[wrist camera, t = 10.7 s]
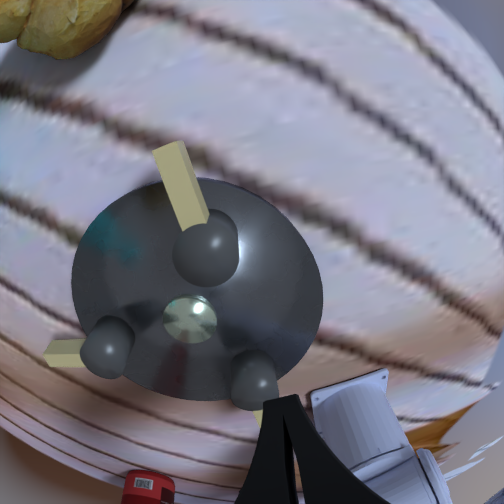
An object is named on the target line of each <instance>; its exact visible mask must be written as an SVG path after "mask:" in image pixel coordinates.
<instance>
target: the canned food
mask: <svg viewBox="0 0 504 504" xmlns="http://www.w3.org/2000/svg"><path fill="white" fill-rule="evenodd" d="M174 494H175V485H174V482H173V480H172V479H170V478H169V477H167V476H165V475H162V474H159V473H156V472H152V471H146V470H132V471H130V472H129V473H128V474H127V476H126V480H125V485H124V490H123V496H122V501H121V504H174Z"/></svg>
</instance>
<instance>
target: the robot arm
mask: <svg viewBox="0 0 504 504" xmlns="http://www.w3.org/2000/svg"><path fill="white" fill-rule="evenodd" d="M388 373H389V372H388V370H387V369H386V368H384V369H381V370H378V371H376V372H373V373H370V374H367V375H364V376H361V377H358V378H355V379H352V380H349V381H346V382H343V383H340V384H336V385H333V386H330V387H326V388H323V389H319V390H315V391H313V392H311V394H310V397H311V403H312V409H313V416H314V422H315V427H314V426H313V424H312V423H311V421H310V419H309V417H308V416H307V414H306V412H305V410H304V408H303V406H302V404H301V401H300V398H299V395H297V394H293V395H289V396H285V397H280V398H276V399H271V400H266V401H264V402H263V413H262V422H261V428H260V433H259V438H258V442H257V446H256V450H255V453H254V457H253V460H252V463H251V466H250V469H249V472H248V475H247V477H246V480H245V482H244V484H243V487H242V489H241V491H240V493H239V495H238V497H237V499H236V501H235V503H234V504H299V502H298V497H297V490H296V481H295V469H294V458H293V448H294V451H295V455H296V458H297V462H298V466H299V472H300V477H301V482H302V488H303V493H304V499H305V504H453V503H452V501H451V498H450V496H449V495H450V492H449V489H448V486H447V484H446V482H445V479H444V477H443V475H442V473H441V471H440V469H439V467H438V465H437V463H436V461H435V459H434V457H433V455H432V453H431V452H430V450H427V449H423V448H420V449H419V450H417V451H416V452H417V454H418V456H419V458H420V462H421V464H422V466H421V464H420V462H419V460H418V458H417V456H416V454H415V452H414V450H413V448H412V446H411V445H410V444H409V442H408V440H407V438H406V436H405V434H404V432H403V430H402V428H401V426H400V424H399V422H398V420H397V418H396V416H395V414H394V412H393V410H392V408H391V406H390V404H389V402H388V400H387V398H386V396H385V394H386V387H387V380H388ZM315 428H316V429H315ZM322 438H324V439H325V442H326V443H325V442H324V440H323V439H322ZM292 445H293V448H292ZM422 467H423V468H422ZM423 469H424V470H423ZM432 489H433V490H432ZM433 491H434V492H433ZM434 493H435V494H434ZM484 504H504V488H503V489H502V490H500V491H499V492H498V493H496V494H495V495H494V496H492V497H491V498H490V499H489V500H488V501H487V502H485V503H484Z"/></svg>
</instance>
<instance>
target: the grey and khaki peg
mask: <svg viewBox="0 0 504 504" xmlns="http://www.w3.org/2000/svg"><path fill="white" fill-rule="evenodd" d="M152 153H153V155H154V158H155V161H156V164H157V167H158V169H159V172H160V175H161V177H162V180H163V183H164V186H165V188H166V191H167V193H168V196H169V199H170V201H171V204H172V206H173V209H174V211H175V214H176V217H177V219H178V222H179V224H180V227H181V229H182V230H181V232H180V234H179V236H178V238H177V239H176V241H175V243H174V246H173V250H172V260H173V264H174V267H175V269H176V271H177V272H178V274H179V275H180V276H181V277H182V278H183V279H184V280H186V281H187V282H189V283H190V284H192V285H195V286H199V287H215V286H218V285H221V284H223V283H225V282H226V281H228V280H229V279H230V278H231V277H232V276H233V275H234V273H235V272H236V270H237V267H238V264H239V242H238V231H237V227H236V225H235V223H234V221H233V220H232V219H231V217H229V216H228V215H227V214H226V213H224V212H222V211H220V210H216V209H207V206H206V203H205V200H204V198H203V195H202V192H201V190H200V187H199V184H198V181H197V178H196V176H195V173H194V170H193V167H192V165H191V162H190V159H189V156H188V153H187V150H186V148H185V145H184V142H183V141H175V142H172V143H170V144H167V145H165V146H163V147H160V148H158V149H155V150H153V151H152Z"/></svg>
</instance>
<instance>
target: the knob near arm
mask: <svg viewBox="0 0 504 504" xmlns="http://www.w3.org/2000/svg"><path fill="white" fill-rule="evenodd" d="M276 398H279V390H278V385H277V379H276V374H275V368H274V363H273V359H272V358H271V356H270V355H268V354H267V353H265V352H263V351H259V350H247V351H244V352H241V353H239V354H237V355H236V356H235V357H234V358H233V359H232V361H231V400H232V402H233V404H234V405H235V406H237V407H238V408H240V409H243V410H247V411H253V413H254V416H255V418H256V420H257V423H258V425H259V427H260V428H261V422H262V413H263V402H264V401H266V400H271V399H276Z"/></svg>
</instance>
